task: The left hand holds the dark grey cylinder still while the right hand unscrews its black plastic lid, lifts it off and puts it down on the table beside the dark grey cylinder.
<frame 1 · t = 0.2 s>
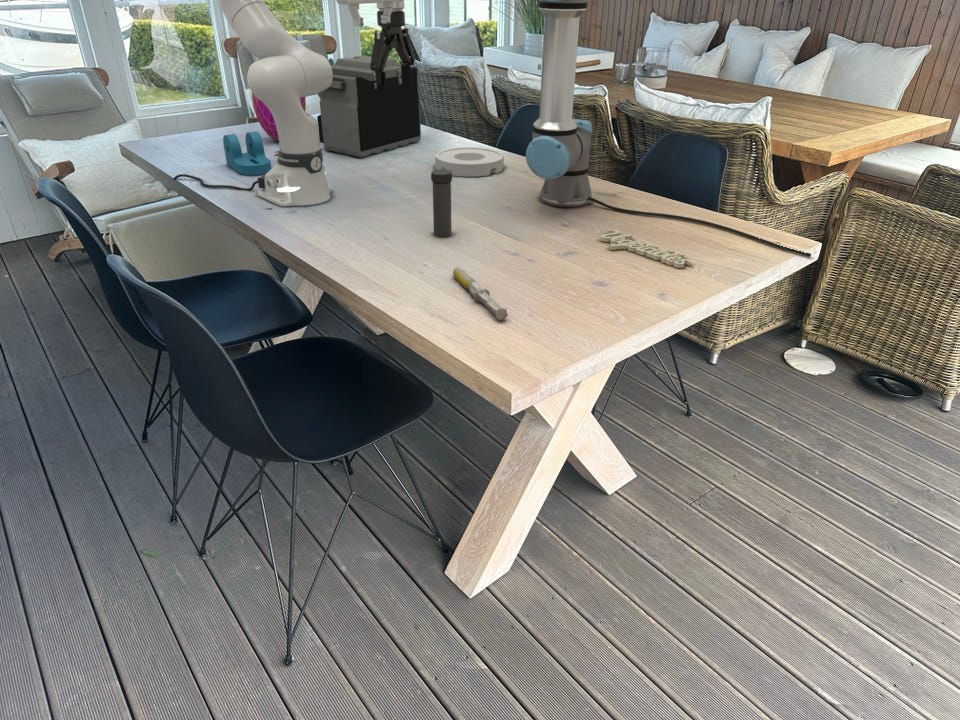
left hand: (372, 24, 163), 48 cm above the table, tool pointing down, fingers open, 8 cm apart
right hand: (394, 93, 197), 28 cm above the table, tool pointing down, fingers open, 13 cm apart
dark grey cylinder: (442, 234, 177), on the table
lid: (441, 173, 169), point 16 cm above the table, screwed on, not yet turned
ashtray: (469, 167, 233), on the table
decorative egg: (284, 140, 265), on the table
potted flower: (336, 120, 298), on the table
cooler box: (371, 146, 258), on the table
decorative sign: (640, 251, 169), on the table
camera mount: (251, 168, 229), on the table
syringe: (478, 297, 145), on the table
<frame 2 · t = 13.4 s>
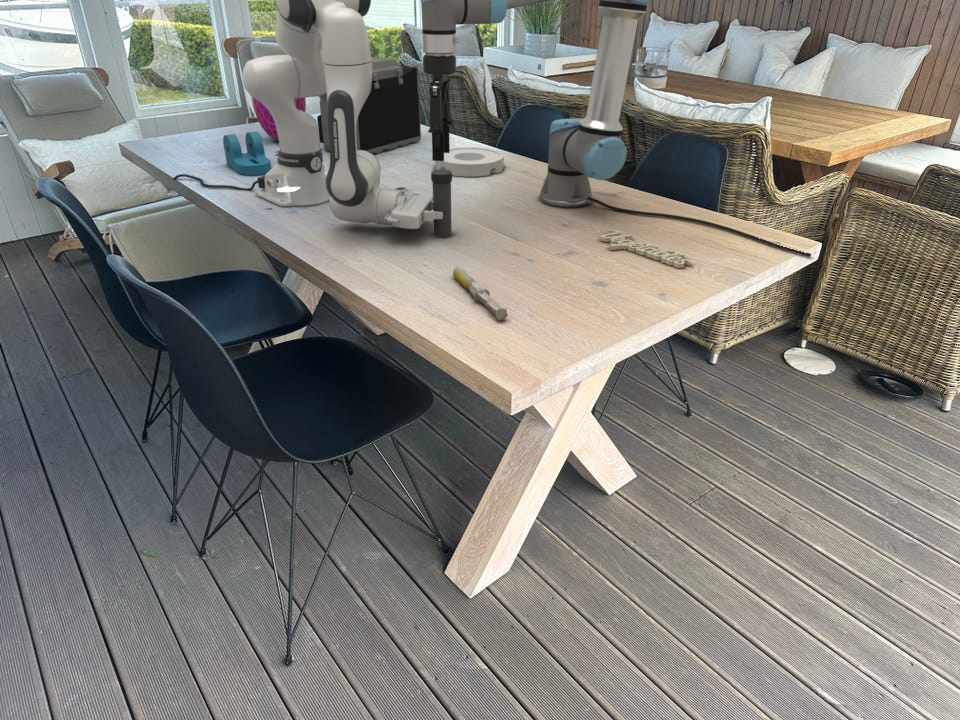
left hand: (445, 211, 174), 6 cm above the table, tool horizontal, fingers closed on dark grey cylinder, 4 cm apart
right hand: (441, 156, 167), 20 cm above the table, tool pointing down, fingers open, 7 cm apart
dark grey cylinder: (442, 234, 177), on the table, touching left hand
everything else where it was.
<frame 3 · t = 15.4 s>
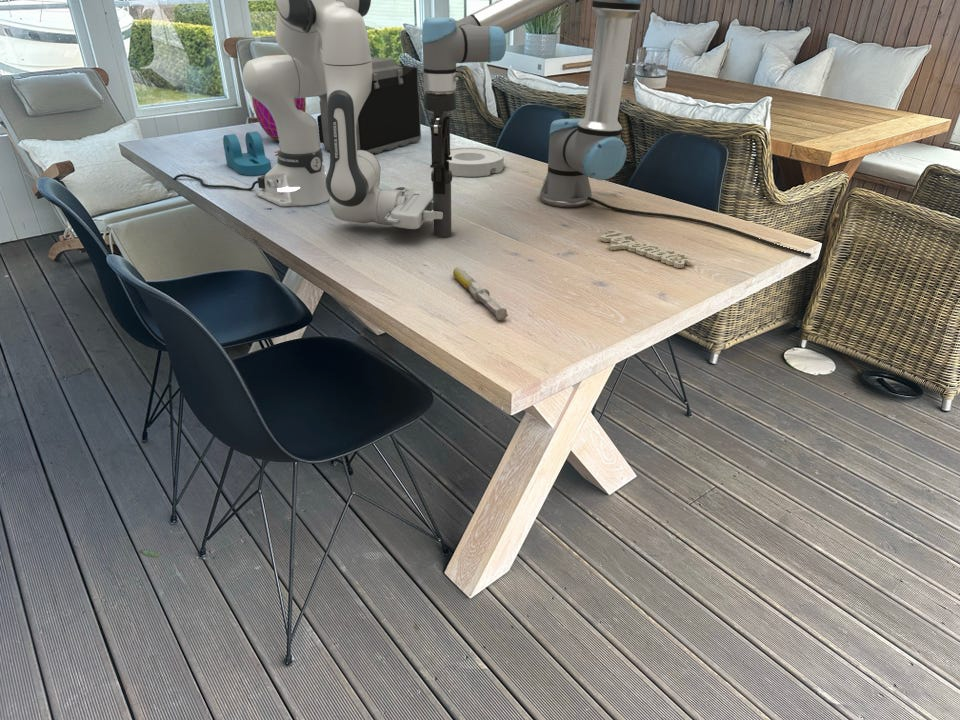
left hand: (445, 211, 174), 6 cm above the table, tool horizontal, fingers closed on dark grey cylinder, 4 cm apart
right hand: (441, 190, 171), 12 cm above the table, tool pointing down, fingers closed on lid, 5 cm apart
dark grey cylinder: (442, 234, 177), on the table, touching left hand
lid: (441, 173, 169), point 16 cm above the table, screwed on, not yet turned, touching right hand
everything else where it was.
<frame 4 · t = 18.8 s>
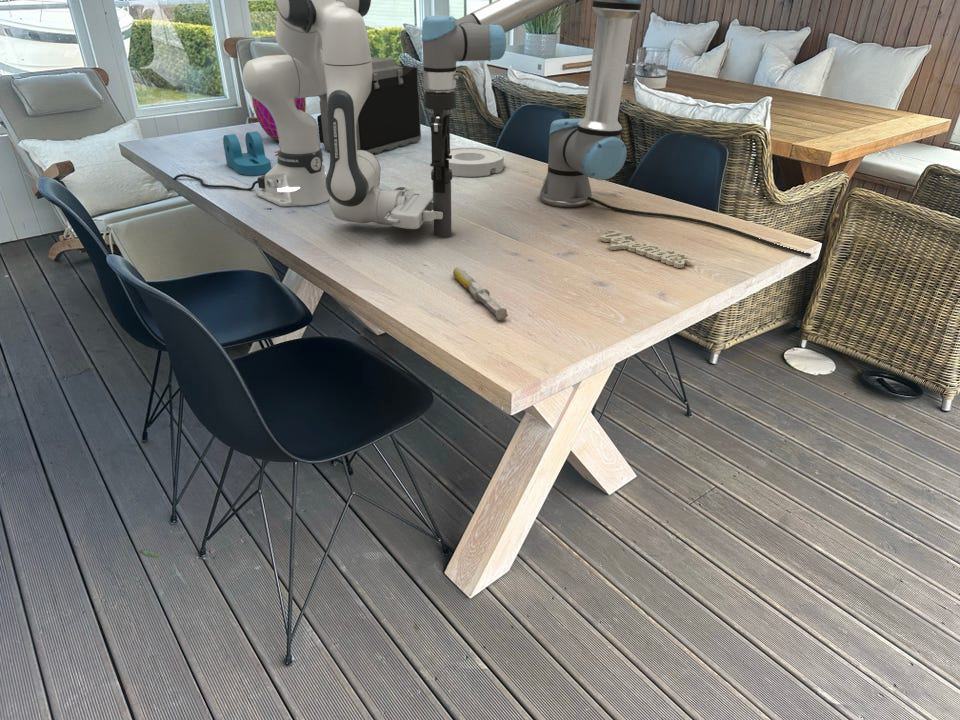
left hand: (445, 211, 174), 6 cm above the table, tool horizontal, fingers closed on dark grey cylinder, 4 cm apart
right hand: (441, 188, 171), 12 cm above the table, tool pointing down, fingers closed on lid, 5 cm apart
dark grey cylinder: (442, 234, 177), on the table, touching left hand
lid: (441, 171, 169), point 16 cm above the table, turned 106° so far, risen 0.3 cm, still on its thread, touching right hand
everything else where it was.
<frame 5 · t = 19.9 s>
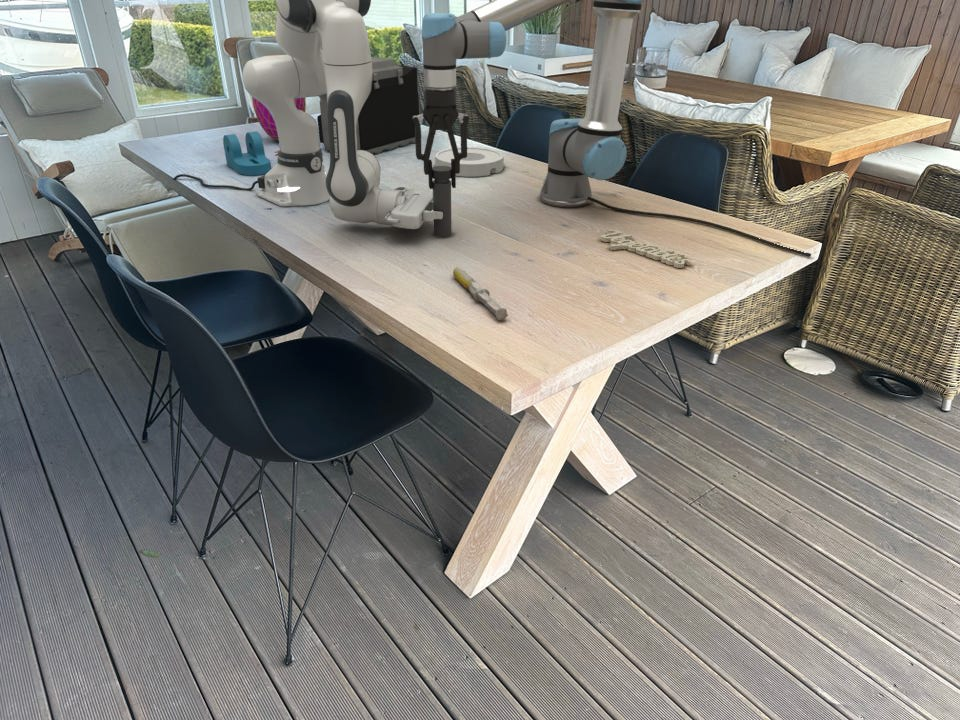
left hand: (445, 211, 174), 6 cm above the table, tool horizontal, fingers closed on dark grey cylinder, 4 cm apart
right hand: (442, 186, 171), 12 cm above the table, tool pointing down, fingers closed on lid, 5 cm apart
dark grey cylinder: (442, 234, 177), on the table, touching left hand
lid: (441, 169, 169), point 17 cm above the table, off its thread, touching right hand
everything else where it was.
when the right hand's fingers open (0 cm above the table, at t = 24.8 s): lid drops 2 cm, point 2 cm above the table.
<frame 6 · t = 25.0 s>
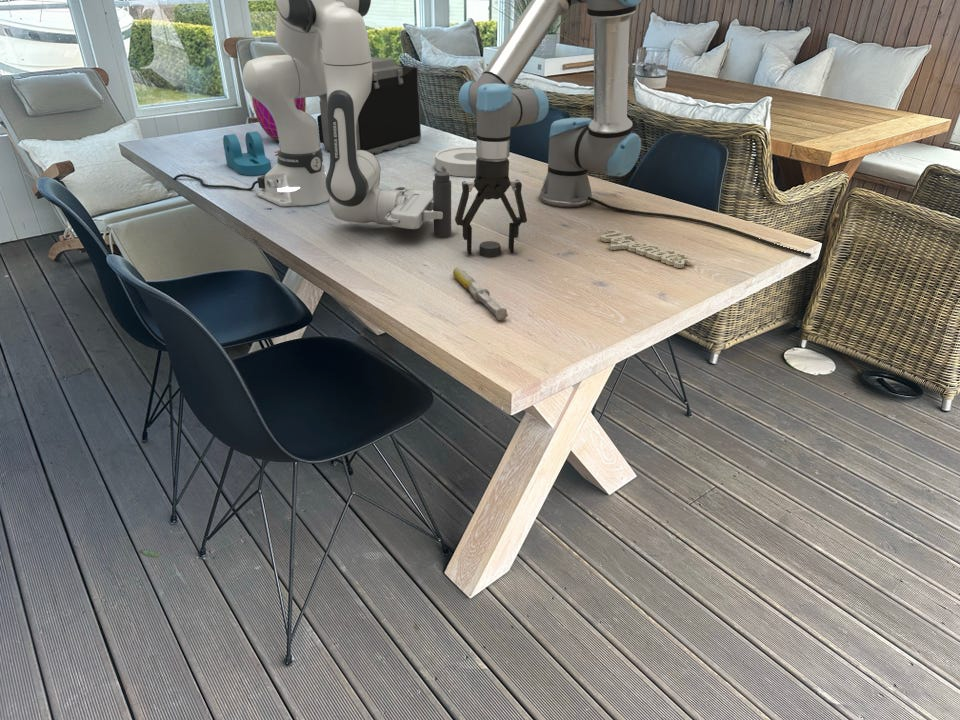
left hand: (445, 211, 174), 6 cm above the table, tool horizontal, fingers closed on dark grey cylinder, 4 cm apart
right hand: (490, 251, 166), 1 cm above the table, tool pointing down, fingers open, 10 cm apart
dark grey cylinder: (442, 234, 177), on the table, touching left hand
lid: (490, 246, 166), point 2 cm above the table, off its thread
everything else where it was.
when the left hand's fingers open (6 cm above the table, at t = 25.9 s): dark grey cylinder stays where it is, on the table.
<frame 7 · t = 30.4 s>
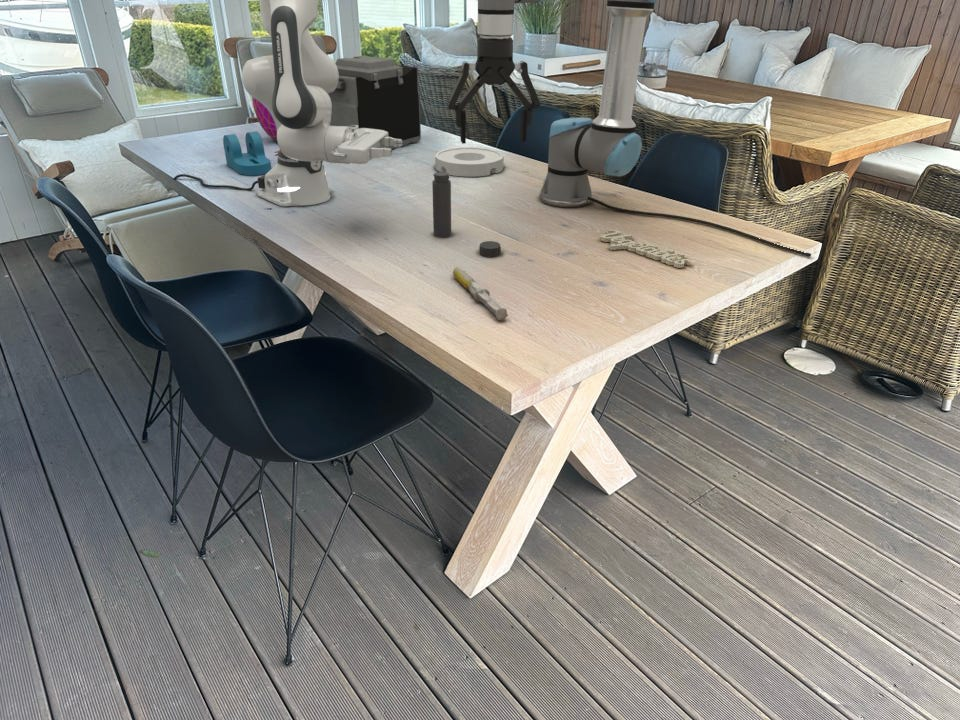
left hand: (396, 147, 168), 21 cm above the table, tool horizontal, fingers open, 8 cm apart
right hand: (493, 141, 153), 26 cm above the table, tool pointing down, fingers open, 13 cm apart
dark grey cylinder: (442, 234, 177), on the table
everything else where it was.
at the end: lid came off its thread; lid point 1.8 cm above the table; the left hand is holding nothing; the right hand is holding nothing; dark grey cylinder tilted 0°; dark grey cylinder moved 0.0 cm from its start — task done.
